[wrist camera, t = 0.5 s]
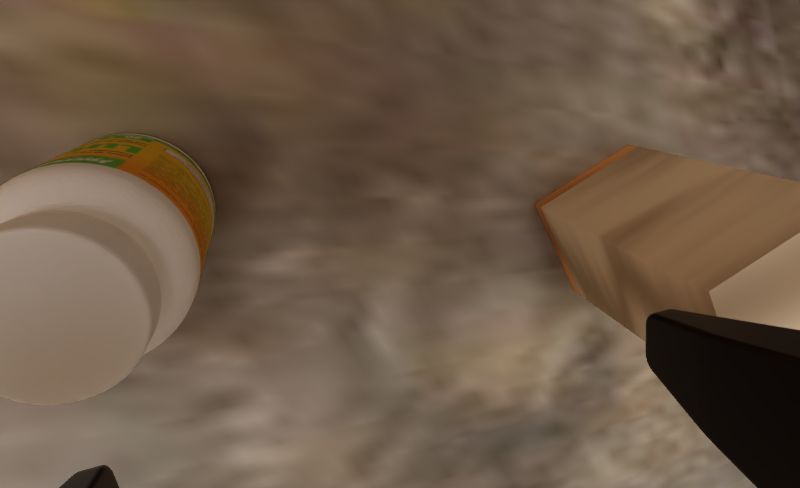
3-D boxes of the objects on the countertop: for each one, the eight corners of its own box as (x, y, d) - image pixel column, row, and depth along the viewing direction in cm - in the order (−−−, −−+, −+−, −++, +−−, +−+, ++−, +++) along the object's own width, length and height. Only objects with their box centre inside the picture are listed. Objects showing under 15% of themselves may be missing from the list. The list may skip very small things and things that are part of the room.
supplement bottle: (162, 103, 19) (79, 139, 10) (244, 231, 21) (236, 354, 12) (20, 177, 19) (-196, 281, 10) (118, 299, 21) (13, 478, 12)
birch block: (660, 235, 26) (881, 328, 17) (573, 290, 26) (749, 415, 17) (628, 145, 24) (857, 194, 15) (534, 203, 24) (708, 291, 15)
